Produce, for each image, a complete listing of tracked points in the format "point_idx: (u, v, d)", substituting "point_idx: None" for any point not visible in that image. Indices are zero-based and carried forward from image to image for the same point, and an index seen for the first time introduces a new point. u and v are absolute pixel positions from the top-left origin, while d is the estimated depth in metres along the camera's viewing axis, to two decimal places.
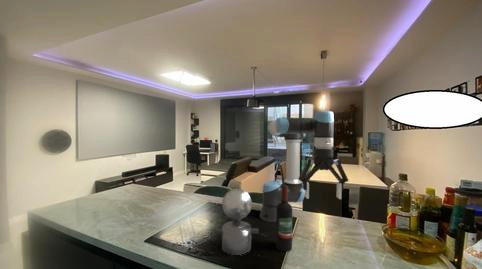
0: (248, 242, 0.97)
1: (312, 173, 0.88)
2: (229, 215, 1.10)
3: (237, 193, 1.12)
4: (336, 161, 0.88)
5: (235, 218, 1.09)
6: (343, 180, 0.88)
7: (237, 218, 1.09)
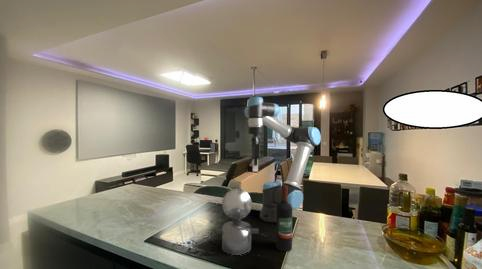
0: (248, 242, 0.97)
1: None
2: (229, 215, 1.10)
3: (237, 193, 1.12)
4: None
5: (235, 218, 1.09)
6: None
7: (237, 218, 1.09)
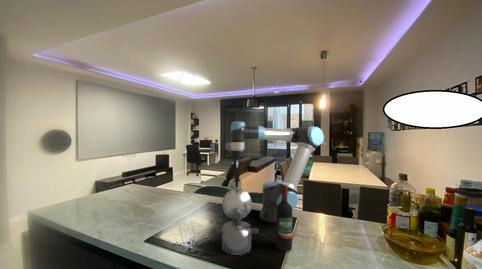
0: (248, 242, 0.97)
1: None
2: (229, 215, 1.10)
3: (237, 193, 1.12)
4: None
5: (235, 218, 1.09)
6: None
7: (237, 218, 1.09)
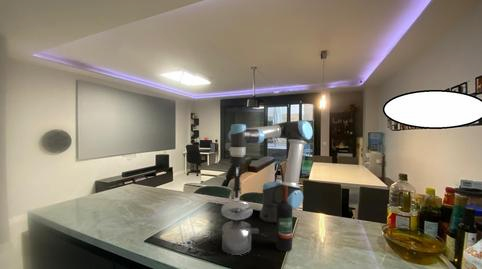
0: (248, 242, 0.97)
1: None
2: (229, 217, 1.08)
3: (237, 205, 1.01)
4: None
5: (235, 219, 1.09)
6: None
7: (237, 219, 1.09)
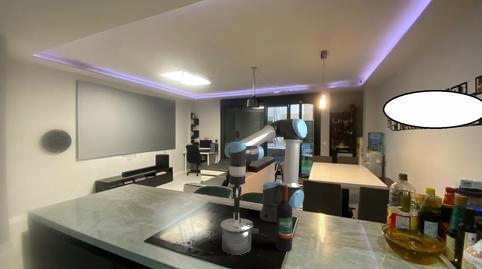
0: (248, 242, 0.97)
1: None
2: None
3: None
4: (235, 193, 0.93)
5: None
6: None
7: None
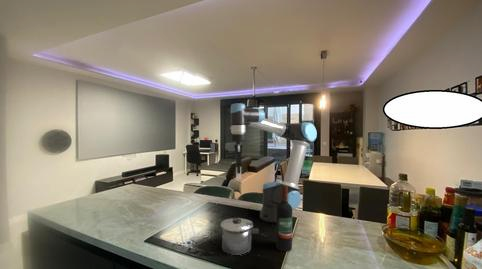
0: (248, 242, 0.97)
1: None
2: None
3: None
4: (237, 148, 1.04)
5: None
6: None
7: None
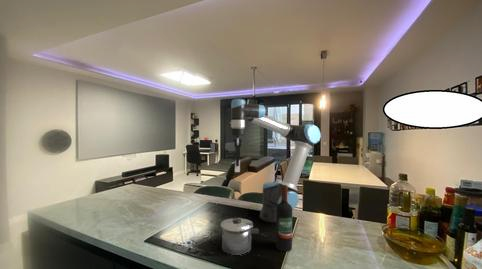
0: (248, 242, 0.97)
1: None
2: None
3: None
4: None
5: None
6: None
7: None
